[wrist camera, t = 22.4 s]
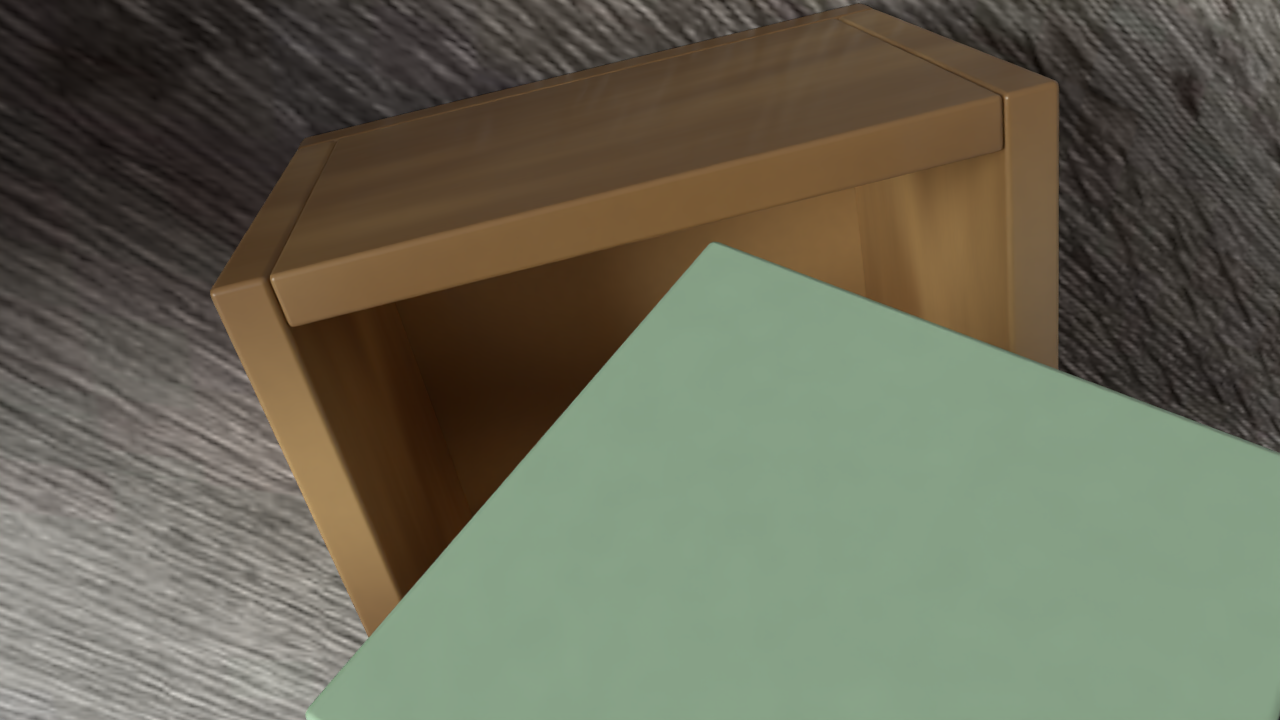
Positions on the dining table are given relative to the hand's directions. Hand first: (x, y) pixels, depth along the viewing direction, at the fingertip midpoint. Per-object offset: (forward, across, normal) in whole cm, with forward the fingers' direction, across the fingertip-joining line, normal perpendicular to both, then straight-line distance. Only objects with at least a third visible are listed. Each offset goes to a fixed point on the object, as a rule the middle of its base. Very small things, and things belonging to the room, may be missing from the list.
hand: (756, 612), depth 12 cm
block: (-2, 0, +1) cm, 2 cm away
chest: (+11, 0, +2) cm, 12 cm away
